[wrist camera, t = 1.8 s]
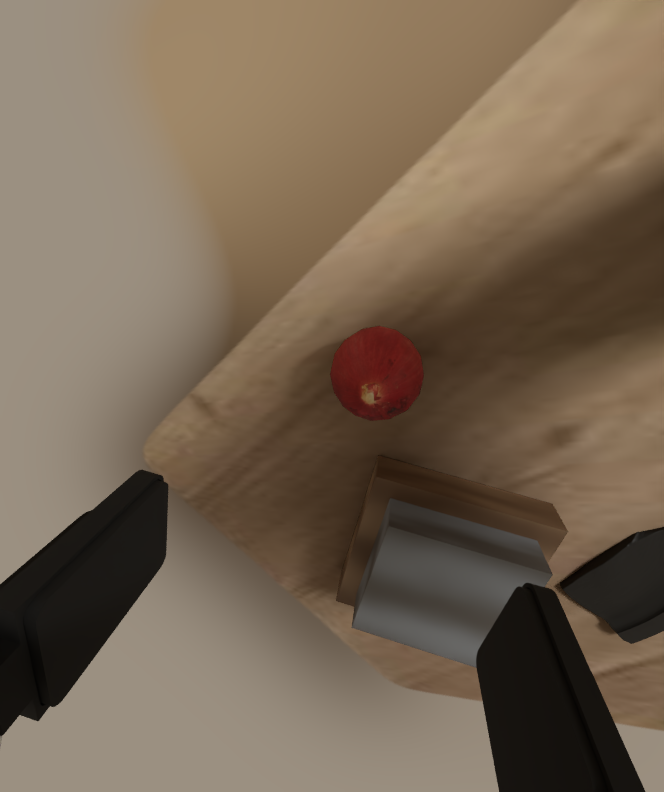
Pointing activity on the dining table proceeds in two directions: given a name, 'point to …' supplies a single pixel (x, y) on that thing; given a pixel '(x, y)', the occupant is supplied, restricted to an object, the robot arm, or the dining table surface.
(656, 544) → the curved wedge
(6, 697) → the robot arm
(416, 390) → the onion
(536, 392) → the dining table surface
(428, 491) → the wood and metal stack
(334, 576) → the dining table surface
